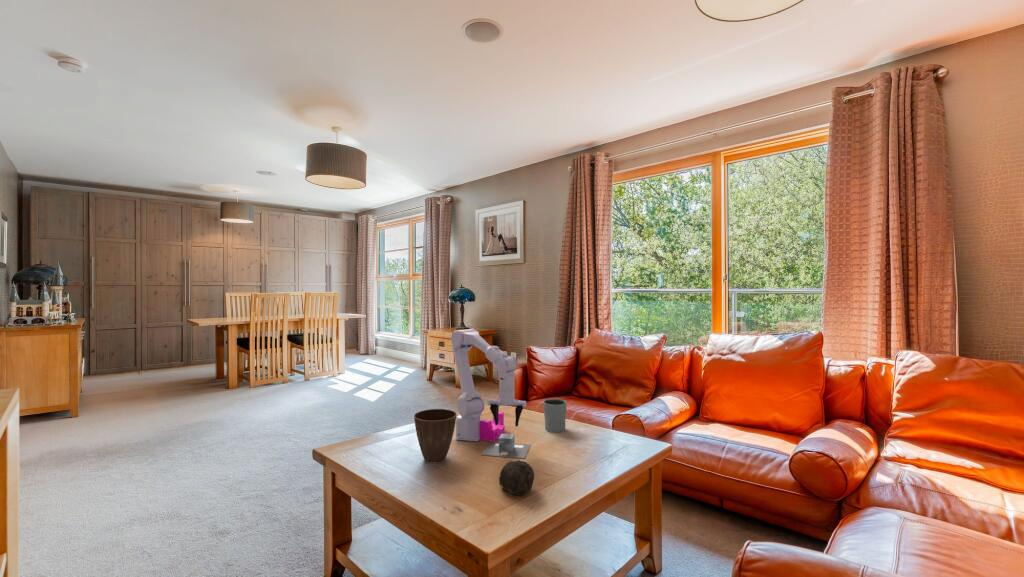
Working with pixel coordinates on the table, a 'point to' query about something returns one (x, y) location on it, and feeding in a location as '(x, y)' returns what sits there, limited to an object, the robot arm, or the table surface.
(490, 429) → the toy block
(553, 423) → the gray cup
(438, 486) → the table surface
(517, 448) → the board
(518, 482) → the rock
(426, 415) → the plant pot
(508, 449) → the gray cube
